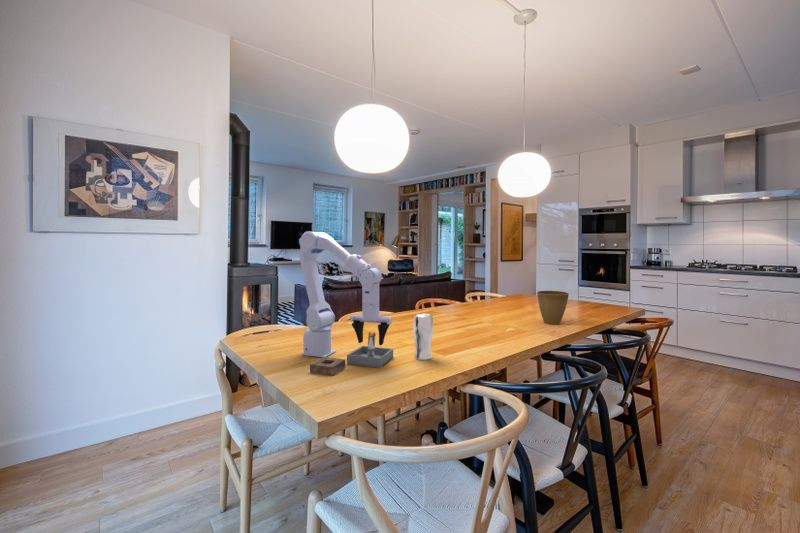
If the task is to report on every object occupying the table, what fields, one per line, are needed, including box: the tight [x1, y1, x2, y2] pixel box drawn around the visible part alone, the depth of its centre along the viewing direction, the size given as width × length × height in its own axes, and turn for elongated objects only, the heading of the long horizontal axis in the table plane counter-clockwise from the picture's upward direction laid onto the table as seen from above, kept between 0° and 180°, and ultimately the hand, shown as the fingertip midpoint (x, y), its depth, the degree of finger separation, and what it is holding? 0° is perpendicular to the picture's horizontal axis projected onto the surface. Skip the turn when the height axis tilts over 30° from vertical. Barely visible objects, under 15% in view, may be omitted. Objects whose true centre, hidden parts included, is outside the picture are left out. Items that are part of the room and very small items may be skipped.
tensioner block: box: [309, 356, 346, 376], centre depth 114 cm, size 8×8×2 cm
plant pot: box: [536, 290, 570, 326], centre depth 184 cm, size 15×15×16 cm
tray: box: [346, 345, 394, 369], centre depth 123 cm, size 12×12×3 cm
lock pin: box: [367, 331, 377, 357], centre depth 123 cm, size 2×2×9 cm
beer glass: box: [412, 313, 434, 361], centre depth 126 cm, size 7×7×15 cm
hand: (370, 343), depth 123 cm, fingers open, 7 cm apart
